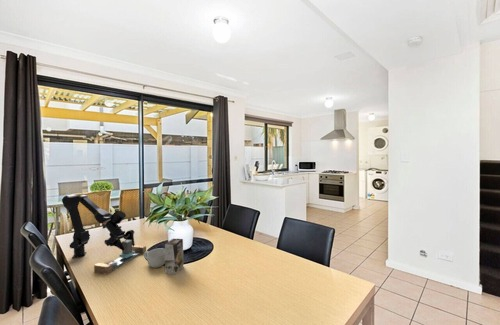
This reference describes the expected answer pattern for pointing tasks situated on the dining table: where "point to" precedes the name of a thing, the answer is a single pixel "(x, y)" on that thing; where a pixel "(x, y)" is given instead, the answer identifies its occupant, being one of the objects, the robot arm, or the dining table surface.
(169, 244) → the coffee box
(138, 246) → the rail
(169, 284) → the dining table surface
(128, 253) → the grey teal block
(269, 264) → the dining table surface
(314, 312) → the dining table surface
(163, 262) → the teacup
